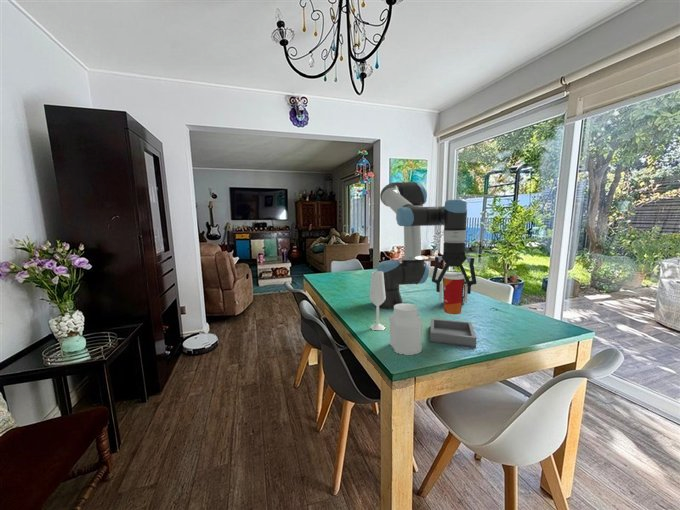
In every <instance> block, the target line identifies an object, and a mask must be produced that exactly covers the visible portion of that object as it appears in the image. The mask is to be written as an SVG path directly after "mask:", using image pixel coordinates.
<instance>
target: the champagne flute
mask: <svg viewBox="0 0 680 510" xmlns="http://www.w3.org/2000/svg"><path fill="white" fill-rule="evenodd" d="M370 277H371V278H370V289H369V300H370V302H371V303H372V304H373V305H374V306H375V305H376V306H375V315H376V317H375V318H376V319H375V321H376V322H375V324H372V325H370V326H371V327H370V326H369V329H370V328H371V329H372V331H374V330H383V331H384V329H385V328H386V326H385V327H384V325H383V324H381V323H380V307H379V306H380V305H381V304H382V303H383V302H384V301H385V299H386V295H385V285H384V274H383V272H382V271H377V270H374V271H371V276H370ZM371 329H370V330H371ZM385 330H386V329H385Z"/></svg>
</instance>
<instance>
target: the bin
mask: <svg viewBox="0 0 680 510" xmlns="http://www.w3.org/2000/svg"><path fill="white" fill-rule="evenodd" d="M429 335H430V337H429V338H430V340H429V342H430V343H436V344H444V345H446V344H447V345H453V346H459V347H470V348H471V347H472V348H477V335H476V332H475V330H474V327H473V323H472V322H471V321H462V320H452V319H440V318H439V319H438V318H430V334H429Z"/></svg>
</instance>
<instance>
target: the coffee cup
mask: <svg viewBox="0 0 680 510" xmlns="http://www.w3.org/2000/svg"><path fill="white" fill-rule="evenodd" d="M464 281H465V278H464V275H463V274H462V273H459V272H447V271H446V273H445V274H444V276H443V278H442V290H443V291H442V294H443V295H442V296H443V311H444V313H446V314H449V315H461V314H462V308H463V307H462V306H463V305H462V298H463V296H464Z"/></svg>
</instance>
